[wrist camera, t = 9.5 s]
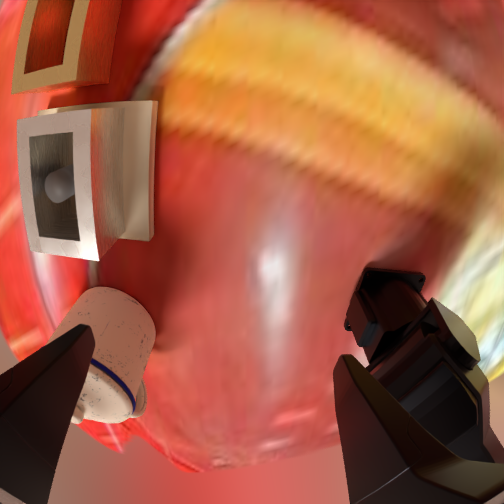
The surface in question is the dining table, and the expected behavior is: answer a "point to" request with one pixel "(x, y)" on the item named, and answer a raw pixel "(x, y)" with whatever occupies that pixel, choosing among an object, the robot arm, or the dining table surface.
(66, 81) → the link
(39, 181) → the link
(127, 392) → the teacup with lid
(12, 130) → the dining table surface
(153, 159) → the keeper
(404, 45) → the dining table surface
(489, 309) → the dining table surface
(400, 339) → the robot arm
